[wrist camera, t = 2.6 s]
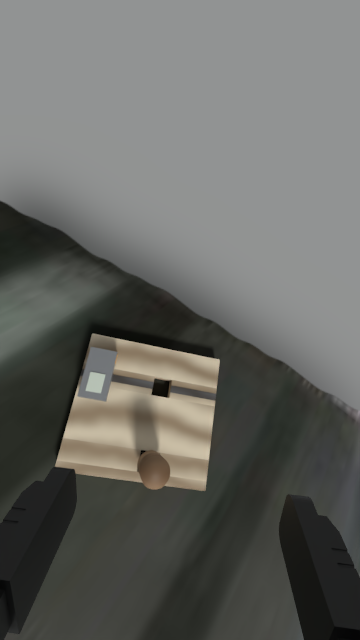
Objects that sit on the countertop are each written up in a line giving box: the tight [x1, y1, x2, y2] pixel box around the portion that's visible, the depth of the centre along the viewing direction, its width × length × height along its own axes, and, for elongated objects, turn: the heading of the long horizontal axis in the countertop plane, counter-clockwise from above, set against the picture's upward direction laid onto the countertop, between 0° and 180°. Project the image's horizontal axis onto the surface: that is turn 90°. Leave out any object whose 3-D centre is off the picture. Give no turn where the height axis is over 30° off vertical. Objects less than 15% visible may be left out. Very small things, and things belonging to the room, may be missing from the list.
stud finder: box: [77, 347, 118, 402], centre depth 47 cm, size 8×4×3 cm, turn 170°
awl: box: [137, 450, 170, 490], centre depth 43 cm, size 4×4×11 cm
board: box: [55, 333, 220, 491], centre depth 49 cm, size 22×24×3 cm
